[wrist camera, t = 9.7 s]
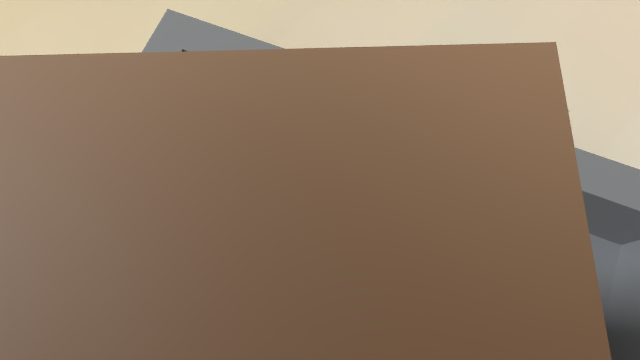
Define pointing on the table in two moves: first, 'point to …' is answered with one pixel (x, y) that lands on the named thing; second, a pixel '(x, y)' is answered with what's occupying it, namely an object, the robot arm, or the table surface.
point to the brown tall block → (294, 206)
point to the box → (595, 177)
